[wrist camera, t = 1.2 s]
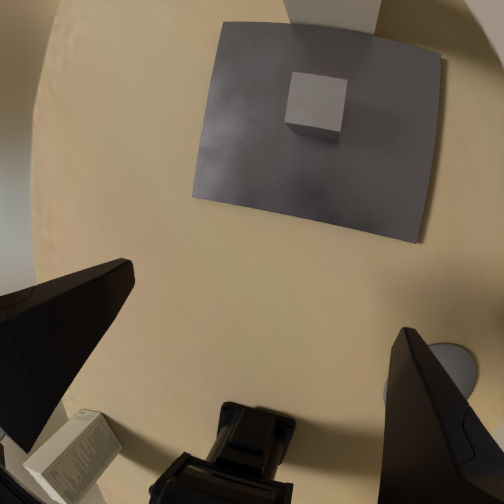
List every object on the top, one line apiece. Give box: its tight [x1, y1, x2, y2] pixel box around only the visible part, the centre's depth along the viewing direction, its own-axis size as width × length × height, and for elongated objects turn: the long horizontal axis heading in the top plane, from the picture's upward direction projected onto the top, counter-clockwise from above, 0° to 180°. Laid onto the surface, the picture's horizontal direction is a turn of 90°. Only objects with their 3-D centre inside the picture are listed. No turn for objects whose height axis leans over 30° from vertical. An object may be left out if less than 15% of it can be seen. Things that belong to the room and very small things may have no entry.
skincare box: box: [23, 409, 123, 504], centre depth 26 cm, size 6×4×12 cm
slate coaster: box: [384, 343, 477, 407], centre depth 20 cm, size 8×8×1 cm
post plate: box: [192, 22, 441, 244], centre depth 16 cm, size 13×15×5 cm
